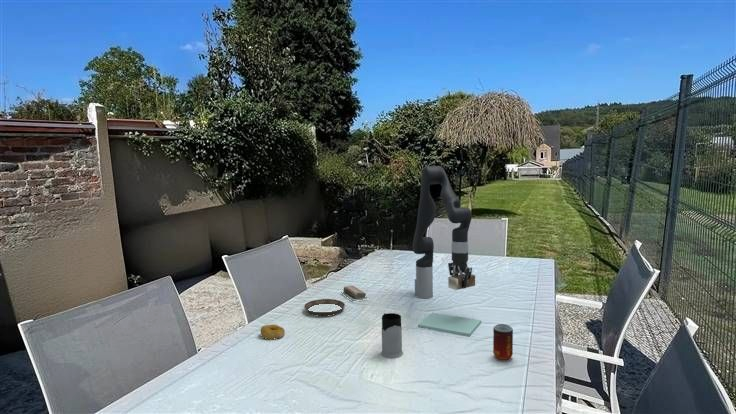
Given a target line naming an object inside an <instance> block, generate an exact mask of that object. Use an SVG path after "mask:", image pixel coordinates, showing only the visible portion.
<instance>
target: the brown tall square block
mask: <svg viewBox="0 0 736 414" xmlns="http://www.w3.org/2000/svg"><path fill="white" fill-rule="evenodd" d="M464 278H465V276H464ZM475 286H476V275H475V274H472V273H471V279H470V280H467V287H466V288H465V289H467V288H470V287H475ZM447 288H449V289H451V290H454V291H458V290H464V289H463V288H462V278H461V276H460V274H458V275H455V276H448V285H447Z"/></svg>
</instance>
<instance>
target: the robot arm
mask: <svg viewBox="0 0 736 414" xmlns="http://www.w3.org/2000/svg"><path fill="white" fill-rule="evenodd" d="M420 179H421V180H420V197H419V203H418V210H417V219H416V227H415V231H414V236H413V241H412V250H413V253H414V254H415V255H423V256H422V257H421V258H419V259H417V260H416V261H415V279H414V297H417V298H420V299H429V298H430V299H431V298H433V296H434V291H433V290H434V289H433V288H434V277H433V274H434V273H433V271H434V270H433V269H434V265H433V263H434V249H435V248H434V239H433V238H432V237H430V236H424V234H425V233H426V230H428V228H430V226H431V225H432V223H433V222H434V221H435V219H436V213H437V212H436V211H437V205H436V203H435V201H434V199H433V197H432V195H431V192H430V186H431V185H438V184H439V185H441V191H440V199H441V202H442V204H443V205H444V207H445V209H446V213H447V218H448V221H449V222H451V223H452V224H459V226H458V227H456V228H453V229H452V231H451V262H449V263H447V264H448V265H447V266H448V271H449V277H451V276H455V275H460V276H461V278H462V288H463V289H462V290H464V289H465V290H466V289H467V288H468V287H467V280H470V279H471V274H472V273H473V268H472V267H469V266H468V261H469V242H468V240H469V239H468V238H469V237H468V236H469V229H470V226H471V222H472V219H473V218H472V217H473V215H472V211H471V209H470V208H469V207H467V206H466V207H465V206H464V207H461V201H460V199H459V197H458V196H457V194H456V193H455V192H454V190H453V187H452V185H451V183H450V181H449V178H448V175H447V173H446V171H445V169H444V167H442V166H441V165H429V166H424V167H423V168H422V171H421V177H420ZM464 276H465V278H464ZM466 287H467V288H466Z"/></svg>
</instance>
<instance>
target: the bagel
mask: <svg viewBox="0 0 736 414" xmlns="http://www.w3.org/2000/svg"><path fill="white" fill-rule="evenodd" d="M259 331H260V335H261V337H263V338H262V339H264V338H266V339H265V340H268V339H272V340H275V339H274V338H280V339H282V338H283V337H284V336H285V329H284V328H283V327H282V326H280V325H279V324H267V325H263V326H261V328H260V330H259ZM281 337H282V338H281Z"/></svg>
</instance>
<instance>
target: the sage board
mask: <svg viewBox="0 0 736 414" xmlns="http://www.w3.org/2000/svg"><path fill="white" fill-rule="evenodd" d="M481 324H482V319H476V318H471V317H470V318H469V317H463V316H457V315H450V314H445V313H439V312H433V311H432V312H431V313H430V314H429V315H427V316H426V317H425V318H423V320H421V321H420V322H419V323H418V324H417V328H420V327H422V328H421V329H426V328H427V329H428V330H431V329H433V331H437V332H443V333H448V334H453V335H460V336H466V337H471V336H472V334H473V333H474V332H475V331H476V330H477V329H478V328H479V326H480V325H481Z"/></svg>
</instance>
